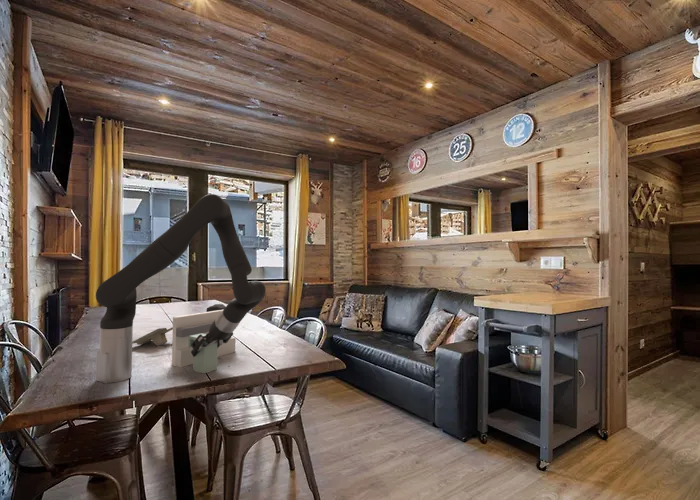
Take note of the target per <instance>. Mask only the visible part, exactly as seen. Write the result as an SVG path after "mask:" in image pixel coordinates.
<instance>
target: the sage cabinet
mask: <svg viewBox="0 0 700 500" xmlns="http://www.w3.org/2000/svg"><path fill="white" fill-rule="evenodd" d="M199 335H202V336H205V335H206V334H202V333H201V334H196V335H191V336H189V343H188V347H192V346H191V344H192V343H193V342H194V341H195V339H196V338H197V337H198V336H199ZM204 342H205V344H208V343H207V342H206V340H205V341H204ZM201 346H202V345H201ZM201 346H200V347H201ZM217 369H218V357H217V343H213V344H211V345H209V346H208V347H206V348H205V347H204V348H203V349H201V350H200V352H199V353H198V354H197V355H196V356H195V357H193V364H192V371H193V372H197V373H201V374H206V373H210V372H213V371H216V370H217Z"/></svg>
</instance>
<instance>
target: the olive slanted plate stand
mask: <svg viewBox="0 0 700 500" xmlns="http://www.w3.org/2000/svg"><path fill="white" fill-rule="evenodd" d="M170 331H173V326H172V327H170V328H168V329H167V327H161V328H160V327H159V328H157V329H154V330H152V331H151V332H148V333H146V334H144V335H143V336H141V337H139V338H137V339H135V340H132V345H133V344H136V345H138V346H140V345H145V344H146V343H148V342H153V343H154V345H156V347H157V346H162V345H164V344H166V343H168V339H167V336H166V334H167V333H168V332H170Z"/></svg>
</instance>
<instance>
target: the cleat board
mask: <svg viewBox="0 0 700 500" xmlns="http://www.w3.org/2000/svg"><path fill="white" fill-rule="evenodd" d="M222 311H223V310H217V311H210V312H207V311H206V312H204V311H203V312H198V313H191V314H185V315H178V316H173V317H172V327H173V329H172V337H171V338H172V340H171V341H172V344H171V366H175V367H177V368H183V367H186V366H190V365H193V355H192V353H191V351H192V350H193V348H192V347H188V343H189V336H191V335H196V334H201V333H202V334H208V333H209V329H210V326H211V324H212V323H213V322H214V320H215V319H216V318H217V316H218V315H219V314H220V313H221V312H222ZM232 353H236V337H233V336H232V337H231V338H230V339H229V341H228V342H227V343H223V344H222V345H220V346H219V347H218V349H217V358H219V357H222V356H225V355H226V356H227V355H229V354H232Z"/></svg>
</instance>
